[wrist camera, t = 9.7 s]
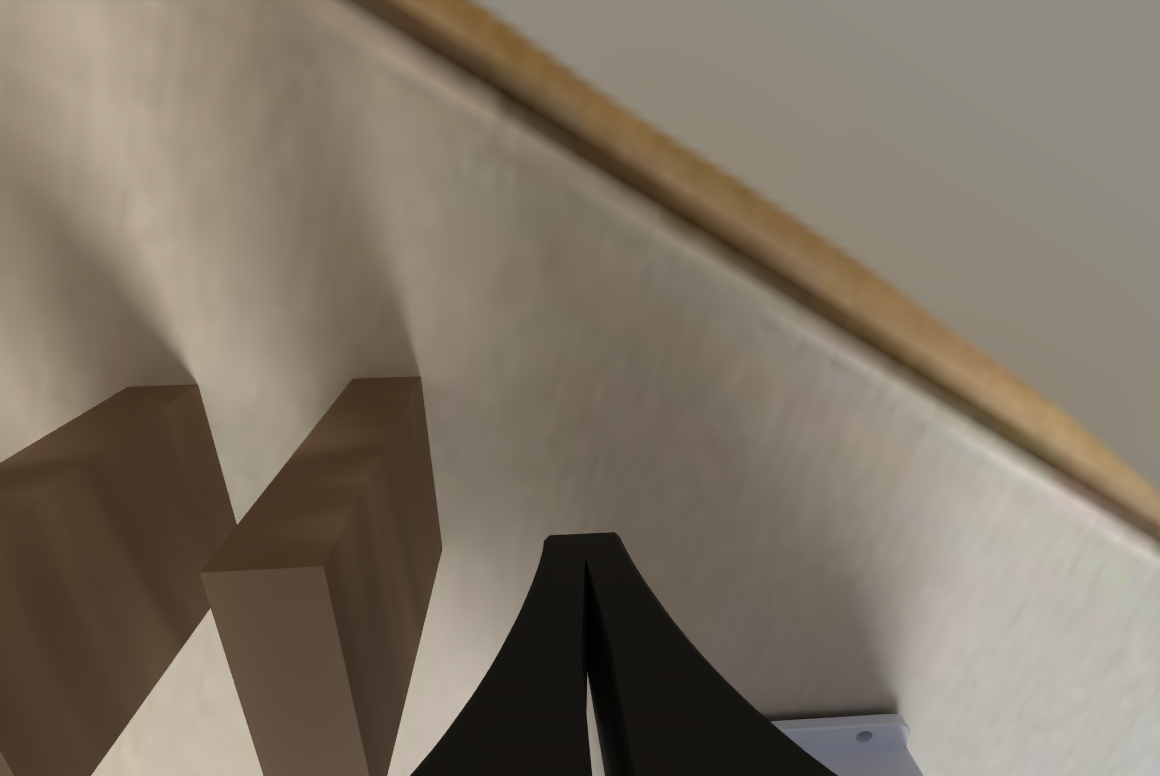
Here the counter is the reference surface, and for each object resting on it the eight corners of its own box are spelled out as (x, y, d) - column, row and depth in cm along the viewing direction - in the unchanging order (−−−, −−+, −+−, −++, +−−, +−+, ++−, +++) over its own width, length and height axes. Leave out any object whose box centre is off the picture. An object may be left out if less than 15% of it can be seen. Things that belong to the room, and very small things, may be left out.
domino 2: (420, 376, 15) (324, 566, 8) (442, 549, 16) (377, 814, 10) (352, 378, 14) (200, 572, 8) (382, 551, 16) (277, 821, 10)
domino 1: (197, 384, 14) (-89, 587, 8) (246, 558, 16) (47, 836, 10) (128, 387, 14) (-221, 593, 8) (184, 561, 16) (-57, 843, 10)
